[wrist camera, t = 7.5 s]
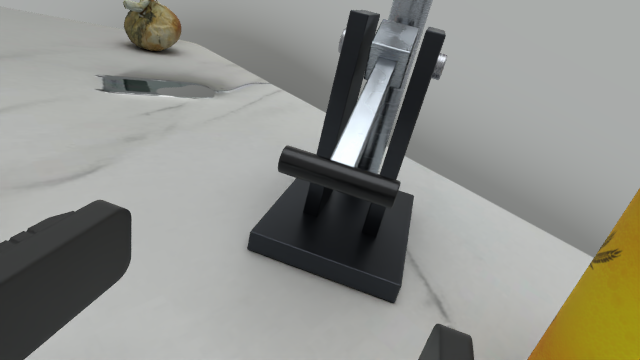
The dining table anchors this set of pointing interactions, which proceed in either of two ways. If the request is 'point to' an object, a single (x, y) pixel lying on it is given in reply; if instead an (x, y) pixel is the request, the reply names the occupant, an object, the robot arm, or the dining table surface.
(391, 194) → the tap lever
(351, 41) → the bracket
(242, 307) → the dining table surface
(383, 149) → the tap spout
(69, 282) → the robot arm
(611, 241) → the beer can
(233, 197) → the dining table surface
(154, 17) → the onion
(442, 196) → the dining table surface
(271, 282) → the dining table surface
